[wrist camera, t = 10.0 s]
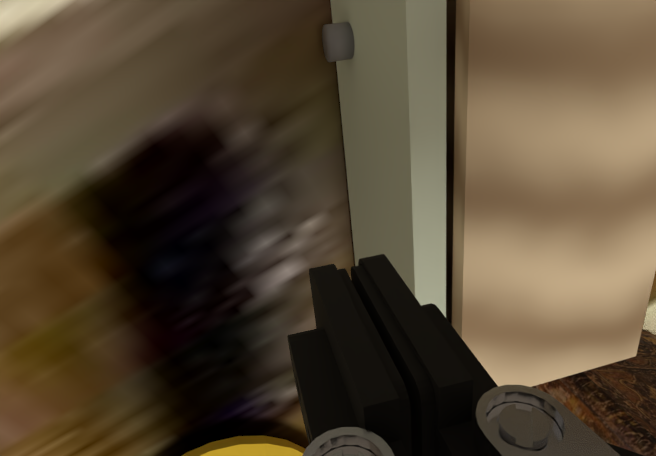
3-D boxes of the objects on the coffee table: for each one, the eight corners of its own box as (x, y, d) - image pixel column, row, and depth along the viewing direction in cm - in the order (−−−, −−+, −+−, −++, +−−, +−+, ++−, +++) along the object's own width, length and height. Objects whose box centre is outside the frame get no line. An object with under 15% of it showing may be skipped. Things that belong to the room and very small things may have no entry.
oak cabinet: (359, -44, 26) (472, -89, 15) (534, -60, 28) (742, -111, 17) (380, 291, 35) (460, 407, 25) (510, 260, 37) (635, 356, 27)
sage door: (307, 2, 26) (378, -10, 16) (355, -3, 27) (452, -18, 16) (341, 301, 35) (401, 418, 25) (376, 293, 35) (450, 403, 25)
